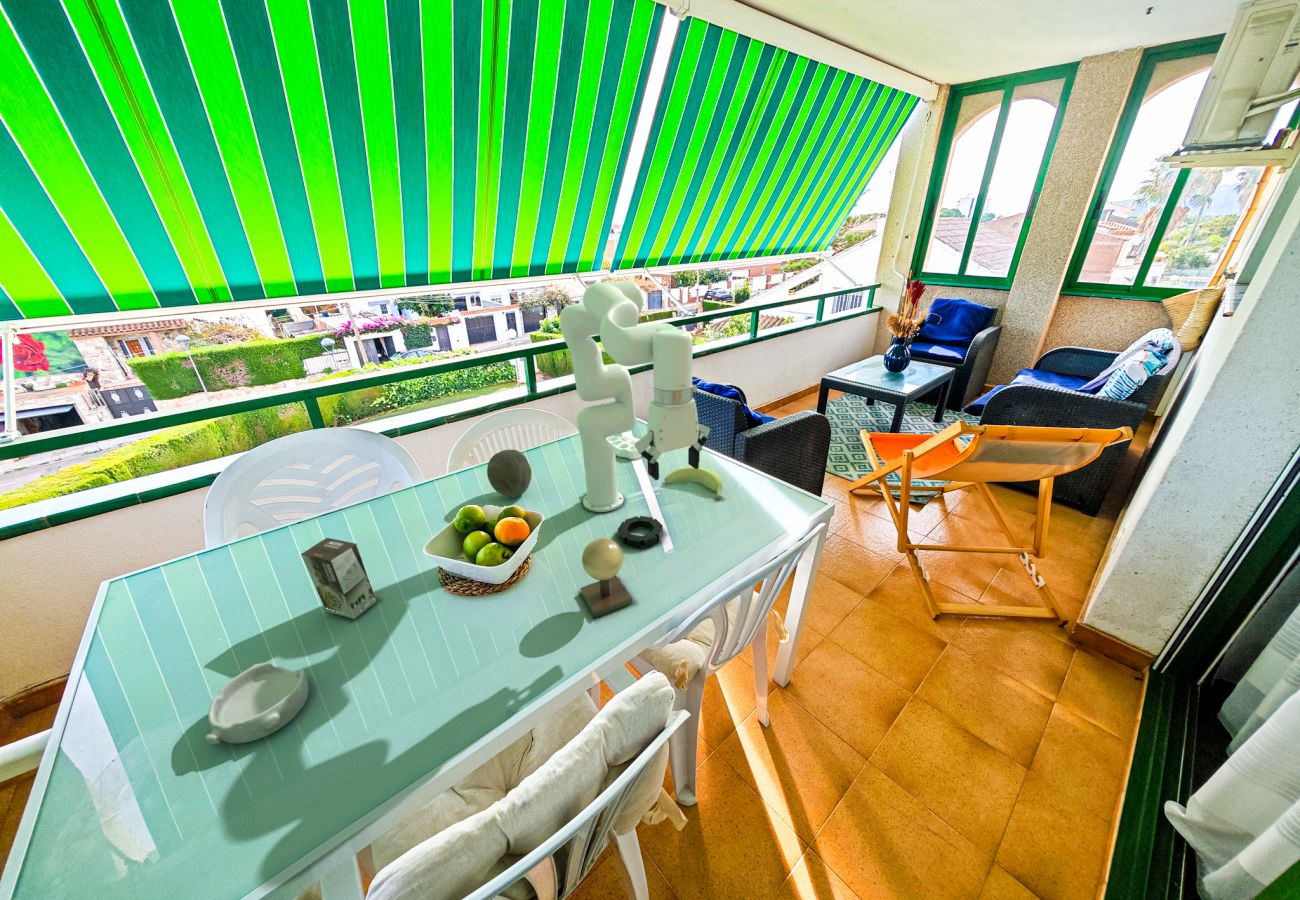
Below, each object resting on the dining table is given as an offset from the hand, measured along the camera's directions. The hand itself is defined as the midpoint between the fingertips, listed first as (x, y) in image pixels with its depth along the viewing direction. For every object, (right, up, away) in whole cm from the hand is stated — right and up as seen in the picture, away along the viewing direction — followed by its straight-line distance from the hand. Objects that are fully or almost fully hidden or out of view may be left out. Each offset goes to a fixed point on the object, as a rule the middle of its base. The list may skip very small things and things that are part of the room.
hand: (674, 471), depth 97 cm
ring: (-8, -19, +30) cm, 36 cm away
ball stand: (-15, -29, +8) cm, 34 cm away
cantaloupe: (-50, -10, +53) cm, 74 cm away
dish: (-74, -42, -16) cm, 86 cm away
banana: (+10, -8, +53) cm, 54 cm away
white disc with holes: (-14, +4, +82) cm, 84 cm away
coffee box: (-74, -31, +8) cm, 80 cm away
